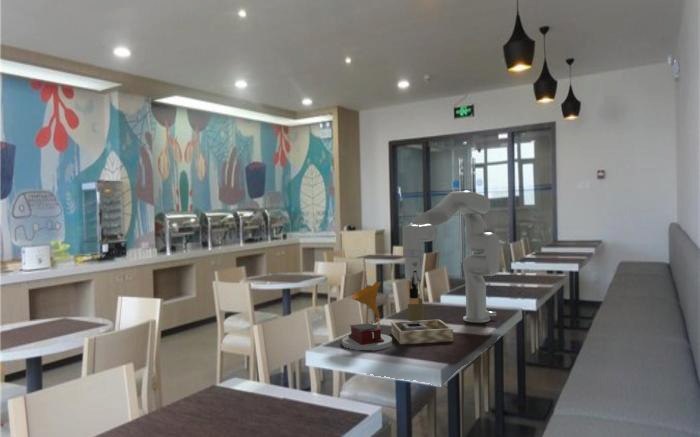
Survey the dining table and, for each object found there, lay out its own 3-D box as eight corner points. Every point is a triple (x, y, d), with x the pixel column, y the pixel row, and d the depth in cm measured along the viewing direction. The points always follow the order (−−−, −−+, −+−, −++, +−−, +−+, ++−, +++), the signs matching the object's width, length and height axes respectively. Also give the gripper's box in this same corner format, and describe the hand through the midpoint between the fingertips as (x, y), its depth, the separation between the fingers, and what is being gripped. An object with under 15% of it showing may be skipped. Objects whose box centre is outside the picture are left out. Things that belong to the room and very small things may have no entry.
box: (440, 330, 217) (439, 319, 217) (453, 341, 199) (452, 328, 199) (391, 333, 214) (391, 322, 214) (400, 344, 197) (400, 331, 196)
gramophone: (379, 335, 212) (377, 278, 212) (401, 346, 193) (399, 284, 193) (335, 341, 205) (333, 281, 205) (353, 353, 186) (351, 288, 186)
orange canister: (416, 302, 208) (415, 276, 208) (418, 303, 204) (418, 277, 204) (407, 302, 208) (406, 276, 208) (409, 304, 204) (408, 278, 204)
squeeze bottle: (424, 321, 236) (422, 284, 235) (424, 325, 228) (423, 287, 227) (407, 321, 236) (406, 284, 236) (407, 325, 228) (406, 287, 228)
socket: (421, 332, 211) (421, 322, 211) (427, 337, 202) (427, 326, 202) (401, 333, 210) (401, 323, 210) (406, 338, 201) (406, 328, 201)
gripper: (425, 255, 198) (426, 300, 198) (415, 252, 215) (416, 293, 215) (407, 255, 197) (408, 300, 197) (398, 252, 214) (399, 294, 214)
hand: (412, 296), depth 206 cm, fingers closed on orange canister, 4 cm apart
